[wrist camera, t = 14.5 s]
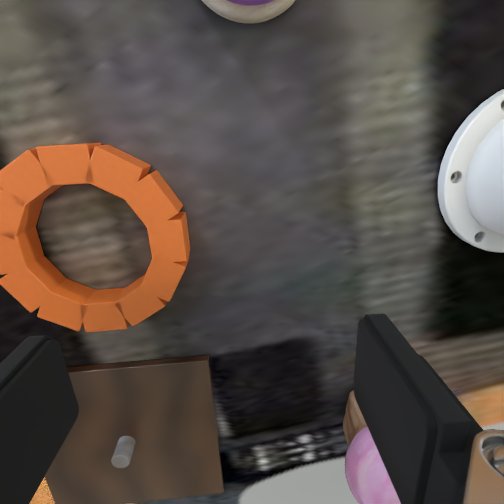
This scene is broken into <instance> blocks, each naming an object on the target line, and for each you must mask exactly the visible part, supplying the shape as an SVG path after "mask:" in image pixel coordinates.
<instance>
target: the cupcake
mask: <svg viewBox="0 0 504 504" xmlns="http://www.w3.org/2000/svg"><path fill="white" fill-rule="evenodd" d="M343 429H344V434H345V437H346V440H347V443H348V450H347V453H346V457H345V474H346V478H347V482H348V484H349V487H350V490H351V492H352V494H353V496H354V497H355V499H356V500H357V502H359V504H401V503H400V500H399V498H398V496H397V493H396V491H395V489H394V486H393V484H392V482H391V480H390V477H389V475H388V473H387V470H386V468H385V466H384V464H383V461H382V459H381V457H380V454H379V452H378V450H377V447H376V445H375V443H374V441H373V438H372V436H371V434H370V431H369V429H368V427H367V425H366V422H365V420H364V418H363V415H362V413H361V411H360V409H359V406H358V404H357V402H356V399H355V396H354V390H353V391H351V392H350V394H349V398H348V402H347V405H346V414H345V416H344V419H343Z"/></svg>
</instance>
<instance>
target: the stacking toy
mask: <svg viewBox="0 0 504 504" xmlns="http://www.w3.org/2000/svg"><path fill="white" fill-rule="evenodd" d="M202 1H203V2H204V3H205V4H206V5H207V6H208V7H209V8H210V9H212V10H213V11H214V12H216V13H217V14H218V15H220V16H222V17H224V18H226V19H229V20H232V21H235V22H239V23H259V22H263V21H267V20H269V19H272V18H274V17H276V16H278V15H280V14H281V13H283V12H284V11H285V10H287V9H288V8H289V7H290V6H291V5H292V4H293V3H294V2H295V1H296V0H202Z"/></svg>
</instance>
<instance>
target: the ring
mask: <svg viewBox="0 0 504 504" xmlns="http://www.w3.org/2000/svg"><path fill="white" fill-rule="evenodd" d="M150 167H151V165H150V164H148V163H146V162H143V161H141V160H139V159H137V158H135V157H133V156H131V155H129V154H127V153H125V152H123V151H121V150H119V149H117V148H115V147H113V146H111V145H101V143H88V144H70V145H52V146H37V147H36V149H28V150H27V151H25V152H24V153H23V154H22V155H20V156H19V157H18V158H16V159H15V160H14V161H12V162H11V163H10V164H8V165H7V166H6V167H5V168H3V169H2V170H1V171H0V275H3V274H7V275H5V276H4V277H2V278H1V279H0V285H2V286H3V287H4V288H5V289H6V290H7V291H8V292H9V293H10V294H11V295H12V296H13V297H14V298H15V299H17V300H18V301H19V302H20V303H21V304H22V305H23V306H24V307H25V308H26V309H27V310H28V311H29V312H33V311H34V310H36V309H37V308H39V307H40V309H39V312H38V315H37V317H39V318H42V319H45V320H48V321H51V322H53V323H56V324H59V325H62V326H65V327H68V328H71V329H73V330H76V331H80V329H81V328H82V327H83V325H84V328H85V331H86V332H96V331H108V330H120V329H127V328H128V326H129V324H131V325H132V326H135V325H137V324H138V323H140V322H141V321H143V320H145V319H146V318H148V317H149V316H151V315H152V314H154V313H156V312H157V311H159V310H160V309H162V308H164V307H165V306H166V303H167V301H168V302H170V300H171V298H172V296H173V294H174V292H175V290H176V288H177V286H178V283H179V281H180V279H181V277H182V275H183V273H184V271H185V269H186V266H187V263H188V260H189V253H190V242H189V234H188V226H187V218H186V212H179V211H180V210H181V208H182V207H183V204H182V203H181V202H180V200H179V199H178V198H177V196H176V195H175V194H174V192H173V191H172V190H171V188H170V187H169V186H168V184H167V183H166V182H165V180H164V179H163V178H162V176H161V175H160V174H159V172H158V171H157V170H156V171H154V172H152V173H150V174H148V172H149V170H150ZM87 183H90V184H92V185H94V186H96V187H99V188H101V189H103V190H105V191H107V192H110V193H112V194H114V195H116V196H118V197H121V198H123V199H125V201H126V202H127V203H128V204H129V206H130V207H131V208H132V209H133V211H134V212H135V213H136V214H137V215H138V217H139V218H140V219H141V220H142V222H143V223H144V224H145V225H146V227H147V230H148V236H149V241H150V247H151V253H152V260H151V263H150V265H149V267H148V270H147V272H146V274H145V275H144V276H142V277H141V278H139V279H137V280H136V281H134V282H133V283H131V284H130V285H128V286H127V287H125V288H112V289H99V290H95V289H93V288H90V287H88V286H85V285H82V284H80V283H77V282H74V281H72V280H69V279H67V278H65V277H64V275H63V274H62V273H61V272H60V271H59V270H58V269H57V268H56V267H55V266H54V265H53V264H52V263H51V262H50V261H49V260H48V259H47V258H46V257H45V256H44V253H43V250H42V246H41V243H40V239H39V236H38V233H37V229H36V225H37V221H38V218H39V215H40V212H41V209H42V205H43V202H44V199H45V198H46V197H48V196H49V195H50V194H52V193H53V192H55V191H56V190H57V189H59V188H60V187H61V186H63V185H70V184H87Z"/></svg>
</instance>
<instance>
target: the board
mask: <svg viewBox="0 0 504 504" xmlns="http://www.w3.org/2000/svg"><path fill="white" fill-rule="evenodd" d="M67 370H68V373H69V376H70V379H71V383H72V386H73V389H74V392H75V396H76V399H77V402H78V405H79V414H78V417H77V420H76V421H75V423H74V425H73V427H72V428H71V430H70V432H69V434H68V436H67V437H66V439H65V441H64V443H63V444H62V446H61V448H60V450H59V452H58V453H57V455H56V457H55V459H54V460H53V462H52V464H51V466H50V468H49V469H48V471H47V473H46V475H45V479H46V481H47V484H48V486H49V489H50V491H51V494H52V496H53V499H54V501H55V504H126V503H135V502H144V501H153V500H163V499H172V498H181V497H190V496H199V495H208V494H218V493H224V481H223V472H222V464H221V455H220V447H219V438H218V430H217V422H216V413H215V405H214V396H213V388H212V379H211V371H210V362H209V355H201V356H190V357H178V358H167V359H156V360H144V361H133V362H121V363H110V364H99V365H87V366H76V367H67Z"/></svg>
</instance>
